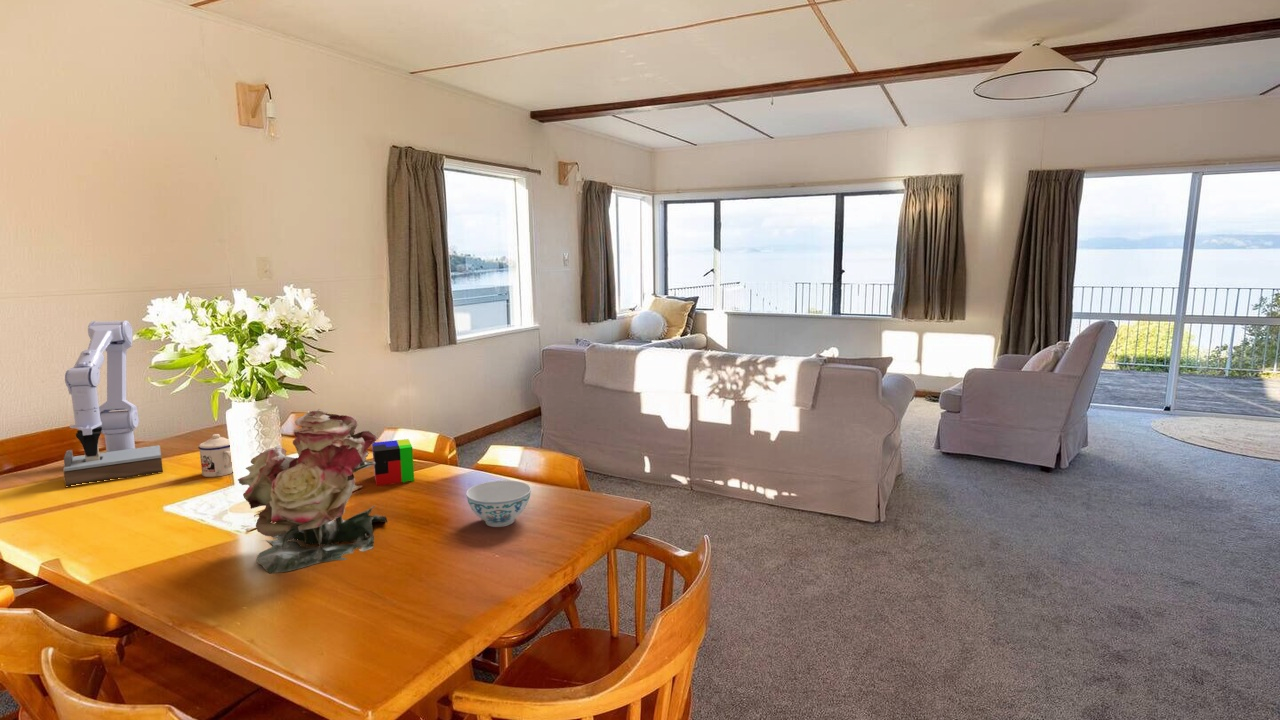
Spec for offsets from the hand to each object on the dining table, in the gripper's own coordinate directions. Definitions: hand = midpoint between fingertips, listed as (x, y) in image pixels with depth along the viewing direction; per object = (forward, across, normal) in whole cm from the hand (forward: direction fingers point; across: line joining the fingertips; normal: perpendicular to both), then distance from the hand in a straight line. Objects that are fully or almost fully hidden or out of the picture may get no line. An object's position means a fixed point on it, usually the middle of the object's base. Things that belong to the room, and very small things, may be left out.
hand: (92, 454), depth 192 cm
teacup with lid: (+7, +19, +30) cm, 36 cm away
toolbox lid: (+2, 0, +5) cm, 5 cm away
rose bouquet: (+7, +93, +41) cm, 102 cm away
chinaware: (+7, +104, +79) cm, 131 cm away
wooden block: (+3, 0, 0) cm, 3 cm away
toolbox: (+7, 0, +5) cm, 8 cm away
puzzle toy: (+7, +55, +69) cm, 89 cm away
